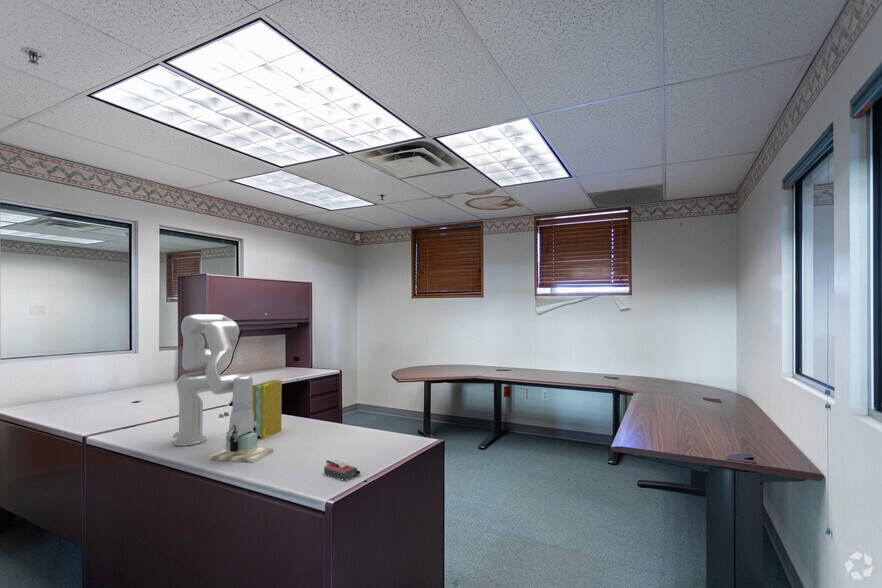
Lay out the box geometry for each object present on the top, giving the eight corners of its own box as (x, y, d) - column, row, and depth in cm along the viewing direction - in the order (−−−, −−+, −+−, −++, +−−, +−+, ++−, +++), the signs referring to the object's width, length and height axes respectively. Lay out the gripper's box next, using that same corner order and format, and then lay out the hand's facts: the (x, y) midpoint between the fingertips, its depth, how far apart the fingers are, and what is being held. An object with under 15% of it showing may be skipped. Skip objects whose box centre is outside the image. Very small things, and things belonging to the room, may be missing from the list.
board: (209, 459, 167) (209, 455, 168) (232, 449, 180) (232, 445, 180) (253, 462, 163) (253, 458, 164) (273, 451, 176) (273, 448, 176)
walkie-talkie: (365, 474, 149) (328, 464, 161) (365, 462, 150) (328, 452, 161) (346, 482, 142) (309, 471, 154) (346, 469, 143) (309, 459, 154)
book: (263, 439, 195) (264, 385, 196) (251, 438, 196) (251, 385, 198) (284, 429, 212) (284, 379, 213) (272, 428, 213) (272, 379, 214)
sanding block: (226, 453, 170) (226, 436, 170) (236, 448, 176) (236, 432, 176) (247, 454, 168) (247, 437, 168) (257, 450, 174) (257, 433, 174)
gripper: (248, 401, 182) (247, 441, 181) (219, 410, 165) (219, 454, 164) (263, 401, 181) (263, 441, 180) (236, 411, 164) (235, 455, 163)
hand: (242, 447), depth 172 cm, fingers open, 9 cm apart
